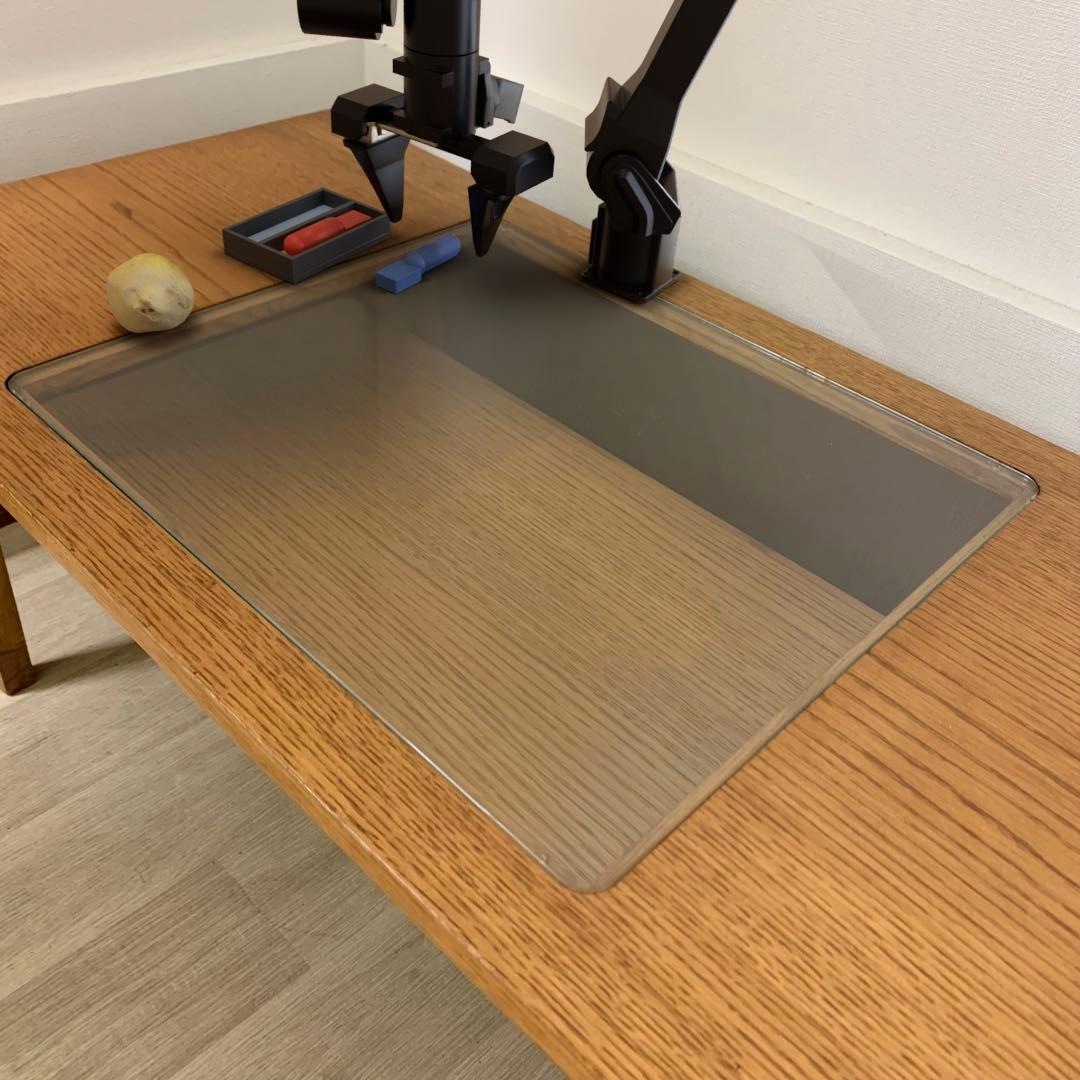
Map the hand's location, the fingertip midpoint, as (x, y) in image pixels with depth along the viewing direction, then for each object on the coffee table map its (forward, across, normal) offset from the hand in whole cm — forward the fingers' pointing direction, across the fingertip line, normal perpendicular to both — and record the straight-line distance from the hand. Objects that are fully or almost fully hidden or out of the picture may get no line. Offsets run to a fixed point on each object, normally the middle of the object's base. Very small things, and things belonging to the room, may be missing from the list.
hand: (438, 238), depth 95 cm
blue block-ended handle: (+2, 0, +2) cm, 3 cm away
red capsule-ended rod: (+1, +8, +5) cm, 10 cm away
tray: (+2, +10, +5) cm, 12 cm away
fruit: (+2, +10, +22) cm, 24 cm away
